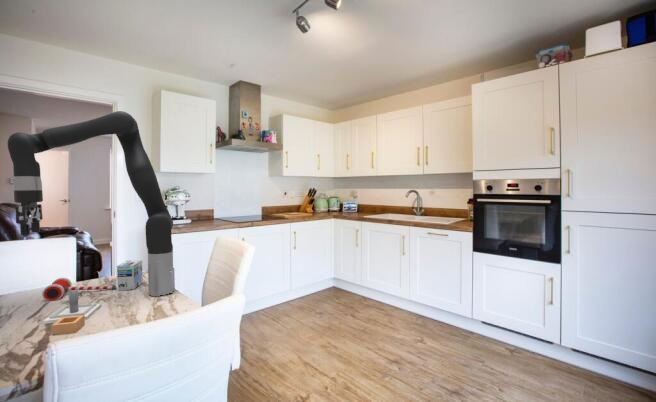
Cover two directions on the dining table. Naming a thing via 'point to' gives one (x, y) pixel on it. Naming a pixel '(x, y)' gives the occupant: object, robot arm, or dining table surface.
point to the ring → (68, 324)
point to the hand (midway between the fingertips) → (30, 233)
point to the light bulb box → (129, 274)
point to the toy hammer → (66, 289)
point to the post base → (73, 309)
